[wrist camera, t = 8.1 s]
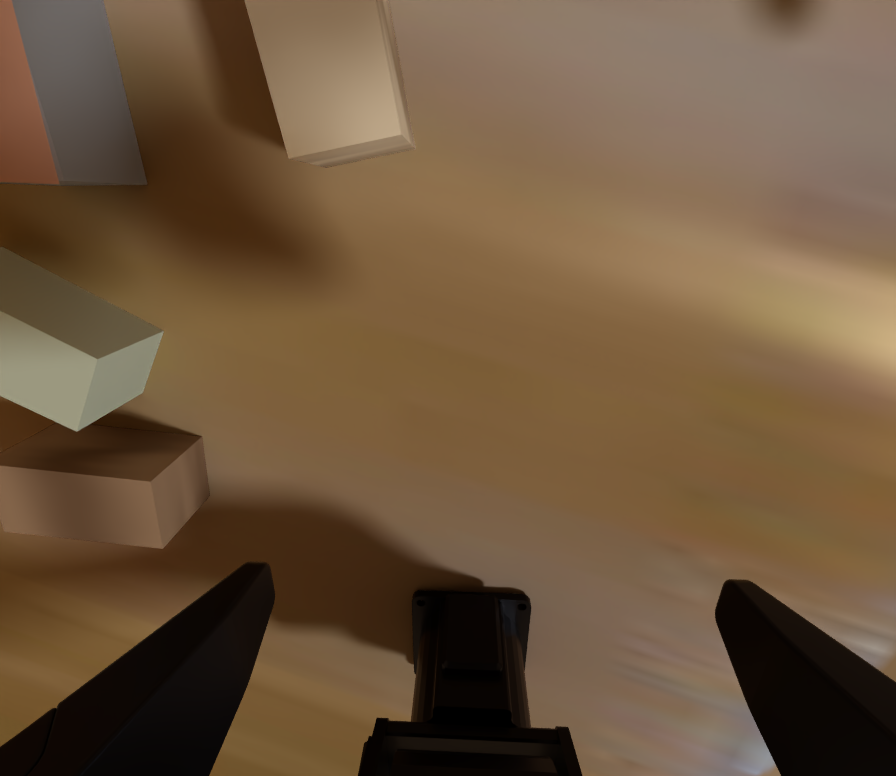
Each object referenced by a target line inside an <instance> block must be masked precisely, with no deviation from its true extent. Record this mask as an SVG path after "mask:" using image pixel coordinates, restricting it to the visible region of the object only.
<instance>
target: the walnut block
mask: <svg viewBox="0 0 896 776" xmlns="http://www.w3.org/2000/svg"><path fill="white" fill-rule="evenodd" d="M209 496H210V493H209V485H208V478H207V470H206V462H205V454H204V447H203V439H202V436H193V435H184V434H174V433H165V432H155V431H146V430H137V429H127V428H118V427H109V426H99V425H90V424H89V425H88V426H86V427H84V428H82V429H81V430H79V431H77V432H76V431H74V430H72V429H70V428H68V427H66V426H63V425H61V424H59V423H55V424H53V425H52V426H50V427H48V428H46V429H44V430H42V431H40V432H38V433H37V434H35V435H33V436H31V437H29V438H27V439H25V440H23V441H22V442H20V443H18V444H16V445H14V446H12V447H10V448H9V449H7V450H5V451H3V452H1V453H0V521H1V524H2V526H3V529H4V532H11V533H21V534H30V535H39V536H49V537H58V538H67V539H76V540H86V541H95V542H104V543H114V544H123V545H132V546H142V547H151V548H160V549H163V548H164V547H165V546H166V545H167V544H168V543H169V541H170V540H171V539H172V538H173V537H174V536H175V535H176V534H177V532H178V531H179V530H180V529H181V528H182V527H183V526H184V524H185V523H186V522H187V521H188V520H189V519H190V518H191V517H192V515H193V514H194V513H195V512H196V511H197V510H198V509H199V507H200V506H201V505H202V504H203V503H204V502H205V501H206V500H207V498H208V497H209Z"/></svg>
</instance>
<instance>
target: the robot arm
mask: <svg viewBox="0 0 896 776" xmlns="http://www.w3.org/2000/svg"><path fill="white" fill-rule="evenodd" d="M274 600H275V590H274V585H273V580H272V574H271V569H270V566H269V564H268V563H266V562H247V563H245V564H243V565H242V566H241V567H239V568H238V569H237V570H235V571H234V572H233V573H231V574H230V575H229V576H227V577H226V578H225V579H223V580H222V581H221V582H219V583H218V584H217V585H215V586H214V587H213V588H211V589H210V590H209V591H207V592H206V593H205V594H203V595H202V596H201V597H199V598H198V599H197V600H196V601H194V602H193V603H192V604H190V605H189V606H188V607H186V608H185V609H184V610H182V611H181V612H180V613H178V614H177V615H176V616H174V617H173V618H172V619H170V620H169V621H168V622H166V623H165V624H164V625H162V626H161V627H160V628H158V629H157V630H156V631H154V632H153V633H152V634H150V635H149V636H148V637H146V638H145V639H144V640H142V641H141V642H140V643H138V644H137V645H136V646H134V647H133V648H132V649H131V650H129V651H128V652H127V653H125V654H124V655H123V656H121V657H120V658H119V659H117V660H116V661H115V662H113V663H112V664H111V665H109V666H108V667H107V668H105V669H104V670H103V671H101V672H100V673H99V674H97V675H96V676H95V677H93V678H92V679H91V680H89V681H88V682H87V683H85V684H84V685H83V686H81V687H80V688H79V689H77V690H76V691H75V692H73V693H72V694H71V695H69V696H68V697H67V698H66V699H64V700H63V701H62V702H60V703H59V704H58V706H57V709H56V708H52V709H51V710H49V711H48V712H47V713H45V714H44V715H43V716H41V717H40V718H39V719H37V720H36V721H35V722H33V723H32V724H31V725H29V726H28V727H27V728H25V729H24V730H23V731H21V732H20V733H19V734H17V735H16V736H15V737H13V738H12V739H10V740H9V741H8V742H6V743H5V744H4V745H2V746H1V747H0V776H209V775H210V772H211V770H212V768H213V765H214V763H215V761H216V758H217V756H218V754H219V751H220V749H221V747H222V744H223V742H224V740H225V737H226V735H227V733H228V730H229V728H230V726H231V723H232V721H233V719H234V716H235V714H236V712H237V709H238V707H239V705H240V702H241V700H242V698H243V695H244V693H245V690H246V688H247V685H248V682H249V680H250V677H251V674H252V671H253V668H254V665H255V661H256V658H257V655H258V652H259V649H260V646H261V643H262V639H263V636H264V633H265V630H266V627H267V624H268V621H269V617H270V614H271V611H272V608H273V605H274ZM421 600H423V601H421ZM530 614H531V603H530V598H529V597H528V596H526V595H523V594H502V593H476V592H450V591H424V590H421V591H417V592H415V593H414V594H413V599H412V620H413V651H414V672H415V674H416V680H415V689H414V698H413V707H412V716H411V722H406V721H389V718H377V719H376V723H375V727H374V731H373V735H372V736H369V738H368V741H367V742H365V743H364V747H363V752H362V757H361V763H360V768H359V773H358V776H582V773H581V769H580V766H579V762H578V759H577V755H576V752H575V749H574V745H573V742H572V738H571V735H570V731H569V728H568V727H558V726H556V728H555V729H550V728H531V724H530V715H529V707H528V698H527V690H526V682H525V673H524V671H525V661H526V652H527V642H528V633H529V623H530ZM715 618H716V623H717V626H718V628H719V631H720V634H721V636H722V639H723V642H724V644H725V647H726V650H727V652H728V655H729V658H730V660H731V663H732V666H733V668H734V671H735V674H736V676H737V679H738V682H739V684H740V687H741V690H742V692H743V695H744V697H745V700H746V702H747V705H748V707H749V709H750V712H751V714H752V716H753V718H754V720H755V722H756V725H757V727H758V729H759V731H760V733H761V735H762V737H763V739H764V741H765V743H766V745H767V747H768V749H769V751H770V754H771V756H772V758H773V760H774V762H775V764H776V766H777V768H778V770H779V772H780V774H781V776H896V682H895V681H894V680H892V679H890V678H889V677H888V676H886V675H885V674H884V673H882V672H881V671H879V670H878V669H876V668H875V667H873V666H872V665H871V664H869V663H868V662H866V661H865V660H863V659H862V658H861V657H859V656H858V655H856V654H855V653H853V652H852V651H851V650H849V649H848V648H846V647H845V646H843V645H842V644H840V643H839V642H838V641H836V640H835V639H833V638H832V637H830V636H829V635H828V634H826V633H825V632H823V631H822V630H820V629H819V628H818V627H816V626H815V625H813V624H812V623H810V622H809V621H807V620H806V619H805V618H803V617H802V616H800V615H799V614H797V613H796V612H795V611H793V610H792V609H790V608H789V607H787V606H786V605H785V604H783V603H782V602H780V601H779V600H777V599H776V598H774V597H773V596H772V595H770V594H769V593H767V592H766V591H764V590H763V589H762V588H760V587H759V586H757V585H756V584H754V583H753V582H751V581H748V580H734V579H729V580H727V581H725V582H724V584H723V587H722V590H721V593H720V596H719V599H718V603H717V606H716V609H715Z"/></svg>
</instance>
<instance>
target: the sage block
mask: <svg viewBox="0 0 896 776" xmlns="http://www.w3.org/2000/svg"><path fill="white" fill-rule="evenodd" d="M163 332H164V331H163V330H161V329H159V328H157V327H155V326H153V325H151V324H150V323H148V322H146V321H144V320H142V319H140V318H138V317H136V316H134V315H132V314H130V313H128V312H127V311H125V310H123V309H121V308H119V307H117V306H115V305H113V304H111V303H109V302H107V301H105V300H104V299H102V298H100V297H98V296H96V295H94V294H92V293H90V292H88V291H86V290H84V289H82V288H81V287H79V286H77V285H75V284H73V283H71V282H69V281H67V280H65V279H63V278H61V277H59V276H58V275H56V274H54V273H52V272H50V271H48V270H46V269H44V268H42V267H40V266H38V265H36V264H35V263H33V262H31V261H29V260H27V259H25V258H23V257H21V256H19V255H17V254H15V253H13V252H12V251H10V250H8V249H6V248H4V247H0V396H2V397H4V398H6V399H8V400H10V401H12V402H14V403H16V404H19V405H21V406H23V407H25V408H27V409H29V410H31V411H34V412H36V413H38V414H40V415H42V416H44V417H46V418H49V419H51V420H53V421H55V422H57V423H59V424H61V425H63V426H66V427H68V428H70V429H72V430H74V431H76V432H77V431H79V430H81V429H82V428H84V427H86V426H88V425H89V424H91V423H93V422H94V421H96V420H98V419H99V418H101V417H103V416H104V415H106V414H108V413H110V412H111V411H113V410H115V409H116V408H118V407H120V406H121V405H123V404H125V403H126V402H128V401H130V400H132V399H133V398H135V397H137V396H138V395H140V394H142V393H143V390H144V387H145V385H146V382H147V379H148V376H149V373H150V370H151V367H152V364H153V361H154V358H155V355H156V352H157V350H158V347H159V344H160V341H161V338H162V335H163Z"/></svg>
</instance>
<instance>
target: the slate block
mask: <svg viewBox="0 0 896 776" xmlns="http://www.w3.org/2000/svg"><path fill="white" fill-rule="evenodd" d="M12 3H13V7H14V11H15V15H16V19H17V23H18V27H19V30H20V34H21V38H22V42H23V46H24V50H25V54H26V57H27V61H28V65H29V69H30V73H31V77H32V80H33V84H34V88H35V92H36V96H37V100H38V103H39V107H40V111H41V115H42V119H43V123H44V126H45V130H46V134H47V138H48V142H49V146H50V150H51V153H52V157H53V161H54V165H55V169H56V173H57V176H58V180H59V184H38V183H13V182H0V184H27V185H54V186H87V185H148V184H147V180H146V176H145V172H144V168H143V164H142V159H141V155H140V151H139V147H138V143H137V139H136V135H135V130H134V126H133V122H132V118H131V114H130V110H129V105H128V101H127V97H126V93H125V89H124V85H123V81H122V76H121V72H120V68H119V64H118V60H117V56H116V52H115V47H114V43H113V39H112V35H111V31H110V27H109V22H108V18H107V14H106V10H105V6H104V2H103V0H12Z"/></svg>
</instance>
